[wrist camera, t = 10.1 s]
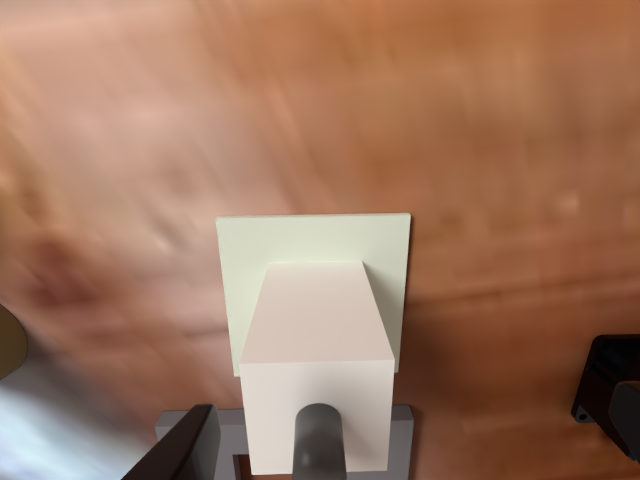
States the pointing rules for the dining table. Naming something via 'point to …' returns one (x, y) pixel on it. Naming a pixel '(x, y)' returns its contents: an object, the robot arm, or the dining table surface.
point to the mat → (312, 246)
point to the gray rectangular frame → (237, 443)
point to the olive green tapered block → (11, 343)
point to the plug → (317, 373)
